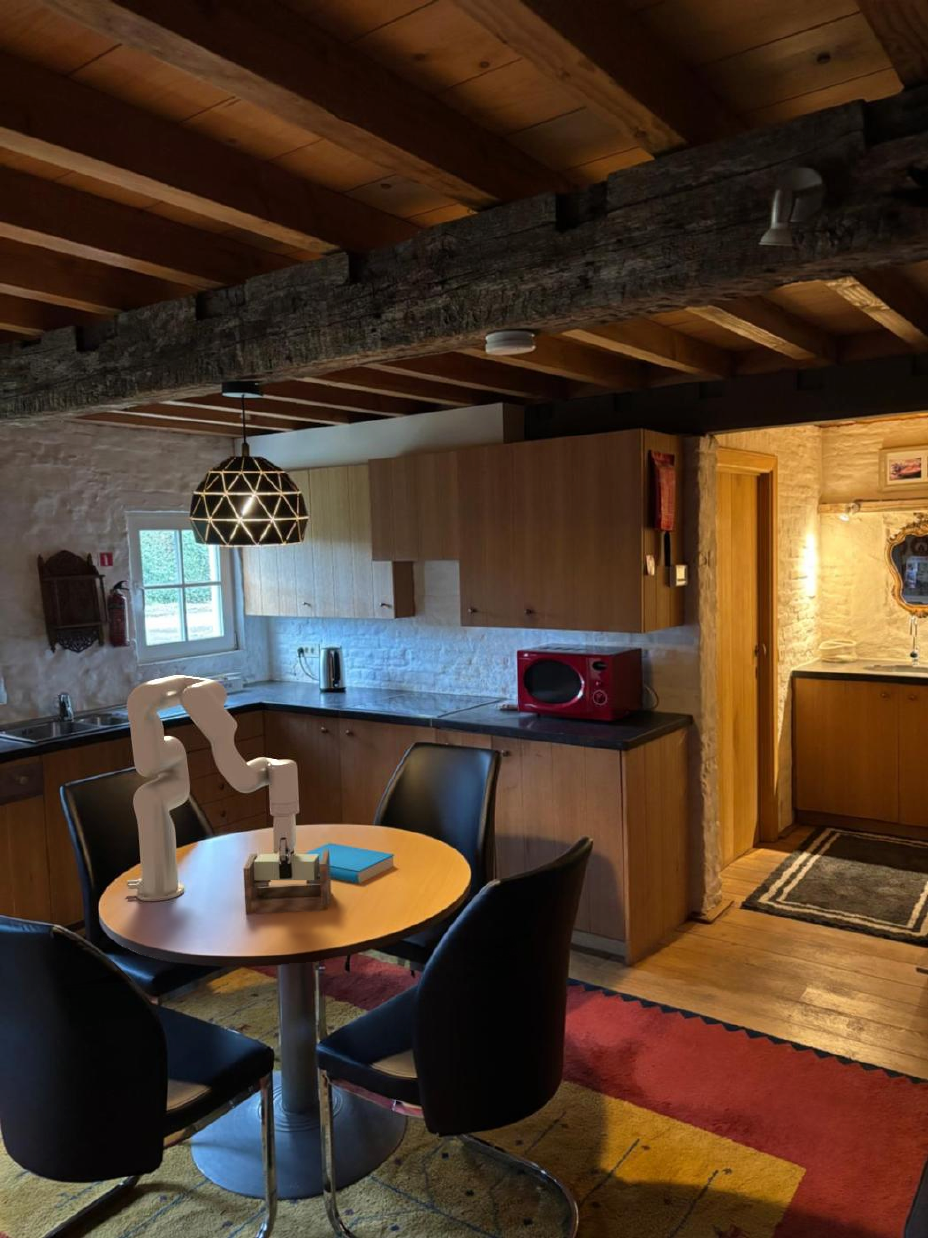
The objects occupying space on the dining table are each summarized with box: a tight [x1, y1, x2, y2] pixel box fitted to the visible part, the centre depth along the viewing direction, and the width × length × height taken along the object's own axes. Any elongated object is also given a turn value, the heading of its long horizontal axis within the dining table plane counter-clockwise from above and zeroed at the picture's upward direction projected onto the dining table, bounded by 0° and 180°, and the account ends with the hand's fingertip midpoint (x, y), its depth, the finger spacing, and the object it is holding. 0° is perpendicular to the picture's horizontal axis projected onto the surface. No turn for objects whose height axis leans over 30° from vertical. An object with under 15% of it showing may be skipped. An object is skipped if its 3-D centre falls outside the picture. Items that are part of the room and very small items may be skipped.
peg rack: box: [242, 850, 332, 915], centre depth 247 cm, size 21×12×12 cm, turn 94°
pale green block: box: [254, 853, 320, 881], centre depth 247 cm, size 16×6×5 cm, turn 85°
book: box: [303, 842, 395, 884], centre depth 274 cm, size 17×4×25 cm
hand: (287, 873), depth 247 cm, fingers closed on pale green block, 6 cm apart
